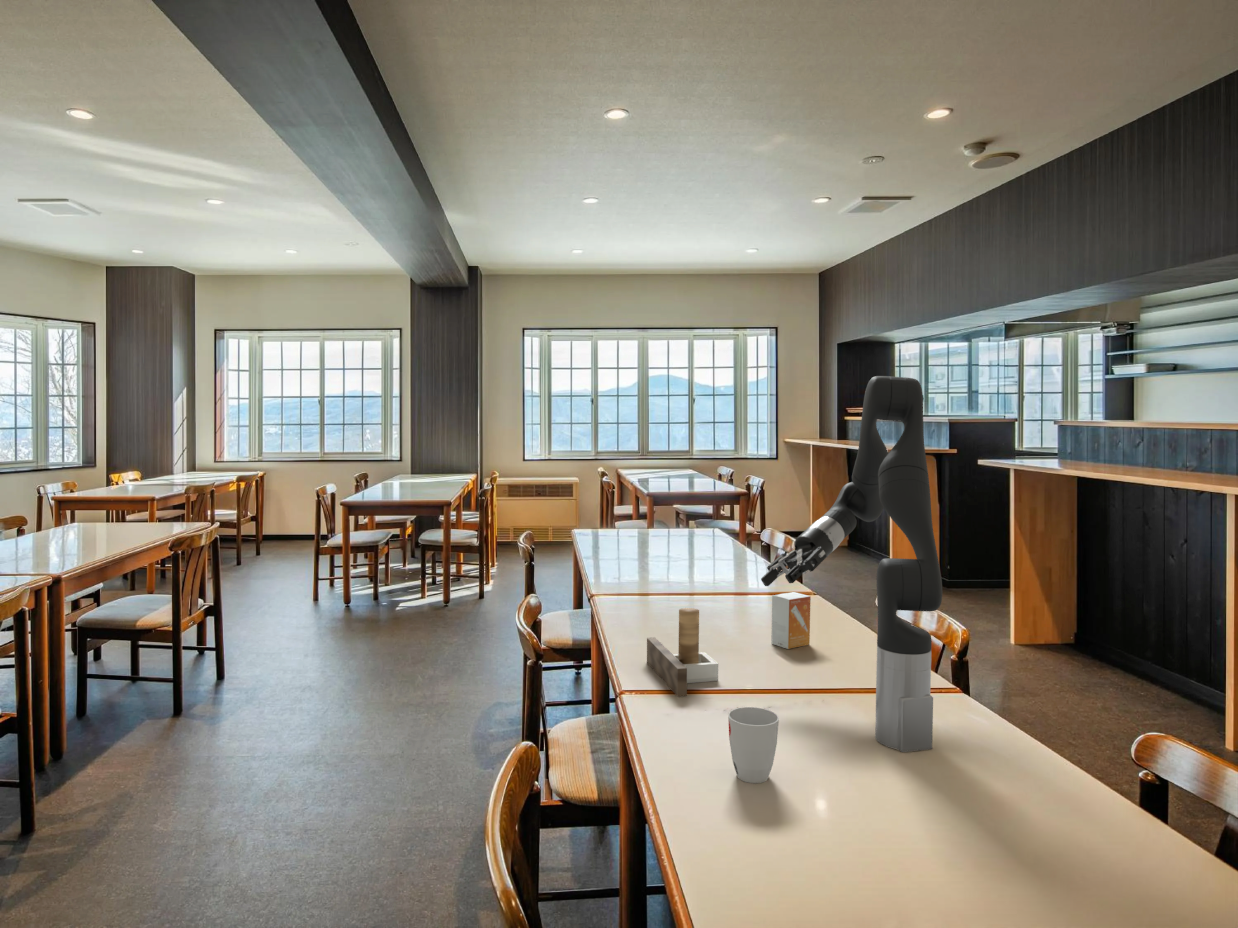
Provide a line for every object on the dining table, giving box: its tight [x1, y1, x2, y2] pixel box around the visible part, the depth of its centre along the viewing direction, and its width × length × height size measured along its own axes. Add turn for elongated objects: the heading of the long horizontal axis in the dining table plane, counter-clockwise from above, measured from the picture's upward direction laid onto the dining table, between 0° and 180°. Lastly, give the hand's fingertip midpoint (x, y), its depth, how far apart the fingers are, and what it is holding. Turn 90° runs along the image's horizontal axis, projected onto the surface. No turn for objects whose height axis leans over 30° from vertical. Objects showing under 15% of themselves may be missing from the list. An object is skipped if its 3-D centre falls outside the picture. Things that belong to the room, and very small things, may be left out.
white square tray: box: [672, 651, 719, 684], centre depth 173 cm, size 9×9×4 cm
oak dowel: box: [677, 607, 700, 664], centre depth 172 cm, size 4×4×14 cm
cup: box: [727, 706, 780, 784], centre depth 126 cm, size 8×8×10 cm
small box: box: [771, 591, 811, 650], centre depth 202 cm, size 8×6×13 cm
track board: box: [646, 636, 688, 698], centre depth 173 cm, size 24×20×7 cm
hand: (775, 581), depth 167 cm, fingers open, 8 cm apart
